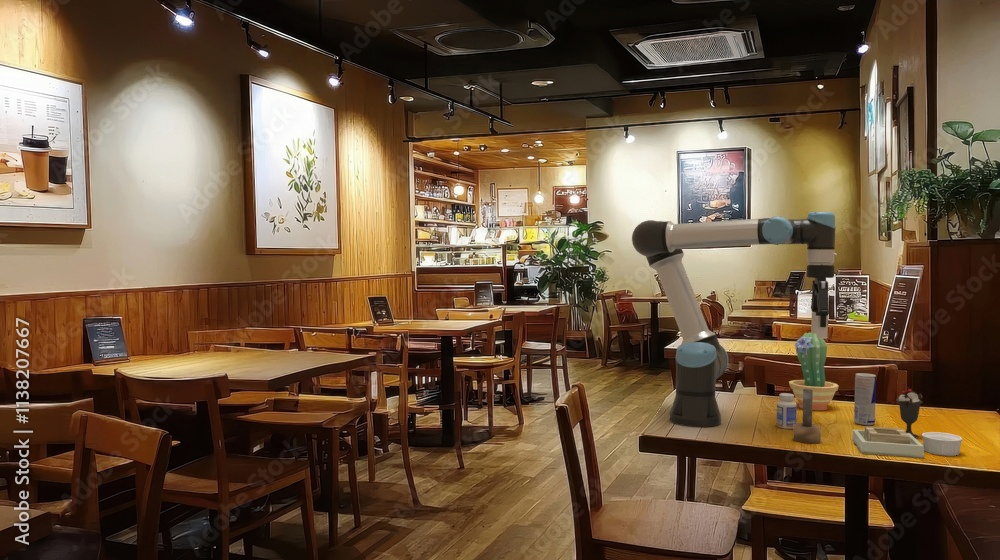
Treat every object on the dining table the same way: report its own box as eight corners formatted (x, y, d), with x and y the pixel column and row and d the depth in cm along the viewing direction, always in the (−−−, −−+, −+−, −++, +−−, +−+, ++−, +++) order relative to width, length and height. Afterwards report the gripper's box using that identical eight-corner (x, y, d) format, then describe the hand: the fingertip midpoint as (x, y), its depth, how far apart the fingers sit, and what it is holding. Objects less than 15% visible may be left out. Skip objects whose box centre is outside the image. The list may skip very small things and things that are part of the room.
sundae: (891, 436, 205) (893, 383, 205) (899, 432, 210) (901, 380, 209) (918, 440, 200) (919, 386, 200) (925, 436, 205) (926, 383, 205)
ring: (910, 452, 186) (910, 436, 186) (871, 449, 188) (871, 434, 188) (901, 443, 194) (901, 428, 194) (864, 441, 197) (864, 426, 197)
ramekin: (952, 459, 182) (952, 442, 182) (915, 451, 190) (915, 434, 189) (967, 453, 188) (968, 437, 187) (931, 446, 195) (931, 430, 195)
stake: (794, 442, 197) (795, 391, 197) (792, 436, 204) (793, 386, 203) (822, 444, 195) (823, 392, 195) (818, 438, 202) (819, 388, 201)
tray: (862, 453, 187) (862, 441, 187) (852, 440, 200) (852, 429, 200) (923, 458, 183) (923, 446, 183) (909, 444, 196) (909, 433, 196)
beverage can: (877, 426, 217) (878, 376, 216) (857, 425, 218) (858, 375, 217) (871, 422, 222) (872, 373, 222) (852, 421, 223) (853, 372, 223)
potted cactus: (781, 402, 252) (782, 330, 251) (827, 403, 251) (828, 330, 250) (798, 412, 236) (799, 335, 235) (846, 412, 236) (848, 335, 235)
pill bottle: (797, 426, 216) (798, 393, 216) (794, 430, 211) (795, 396, 211) (778, 424, 219) (778, 392, 219) (774, 427, 214) (775, 394, 214)
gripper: (841, 264, 203) (839, 341, 203) (828, 264, 227) (826, 332, 227) (811, 264, 205) (810, 340, 206) (802, 263, 229) (800, 331, 229)
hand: (819, 336), depth 216 cm, fingers open, 13 cm apart
